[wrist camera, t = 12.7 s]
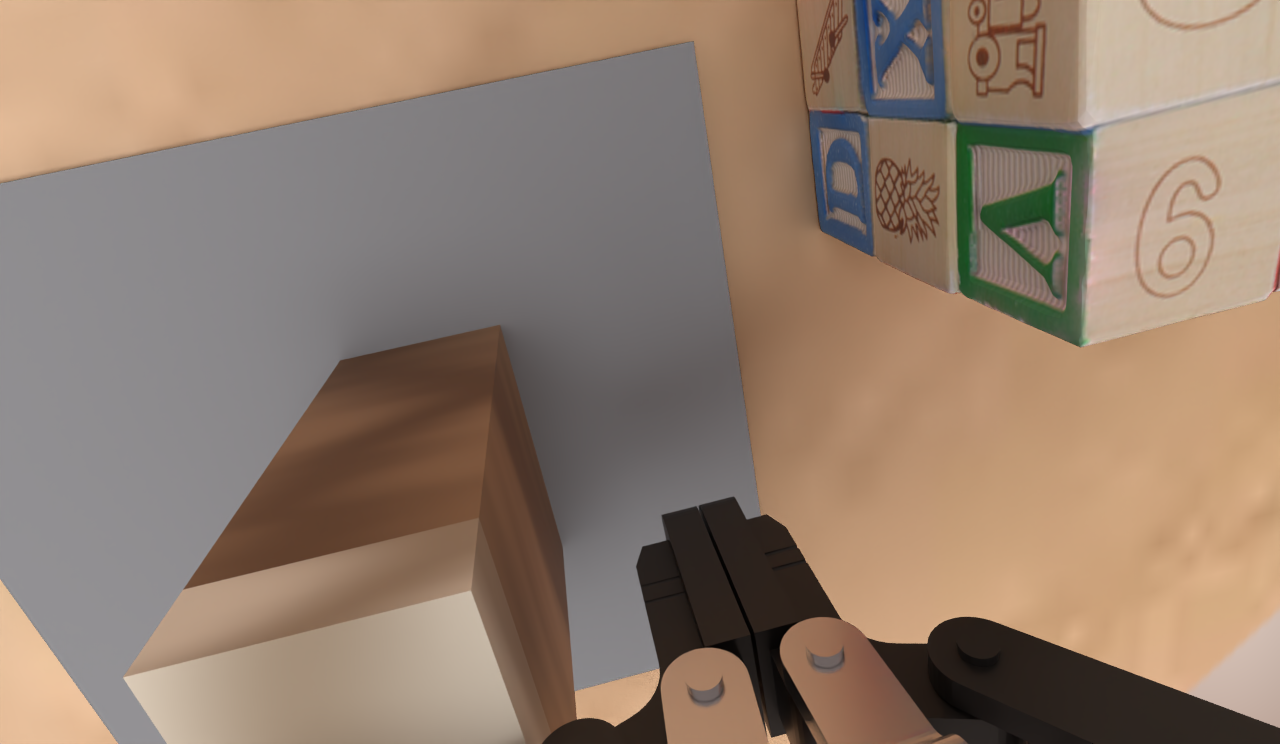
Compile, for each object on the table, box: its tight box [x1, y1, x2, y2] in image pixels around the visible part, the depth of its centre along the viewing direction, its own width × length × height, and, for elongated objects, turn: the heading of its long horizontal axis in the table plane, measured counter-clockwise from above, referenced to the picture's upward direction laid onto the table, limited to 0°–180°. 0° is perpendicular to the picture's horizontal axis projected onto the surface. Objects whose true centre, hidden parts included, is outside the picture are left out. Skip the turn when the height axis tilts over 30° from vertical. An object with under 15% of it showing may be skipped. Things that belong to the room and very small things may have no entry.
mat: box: [0, 41, 761, 744], centre depth 19 cm, size 20×18×1 cm
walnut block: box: [123, 325, 577, 744], centre depth 14 cm, size 4×7×10 cm, turn 10°
